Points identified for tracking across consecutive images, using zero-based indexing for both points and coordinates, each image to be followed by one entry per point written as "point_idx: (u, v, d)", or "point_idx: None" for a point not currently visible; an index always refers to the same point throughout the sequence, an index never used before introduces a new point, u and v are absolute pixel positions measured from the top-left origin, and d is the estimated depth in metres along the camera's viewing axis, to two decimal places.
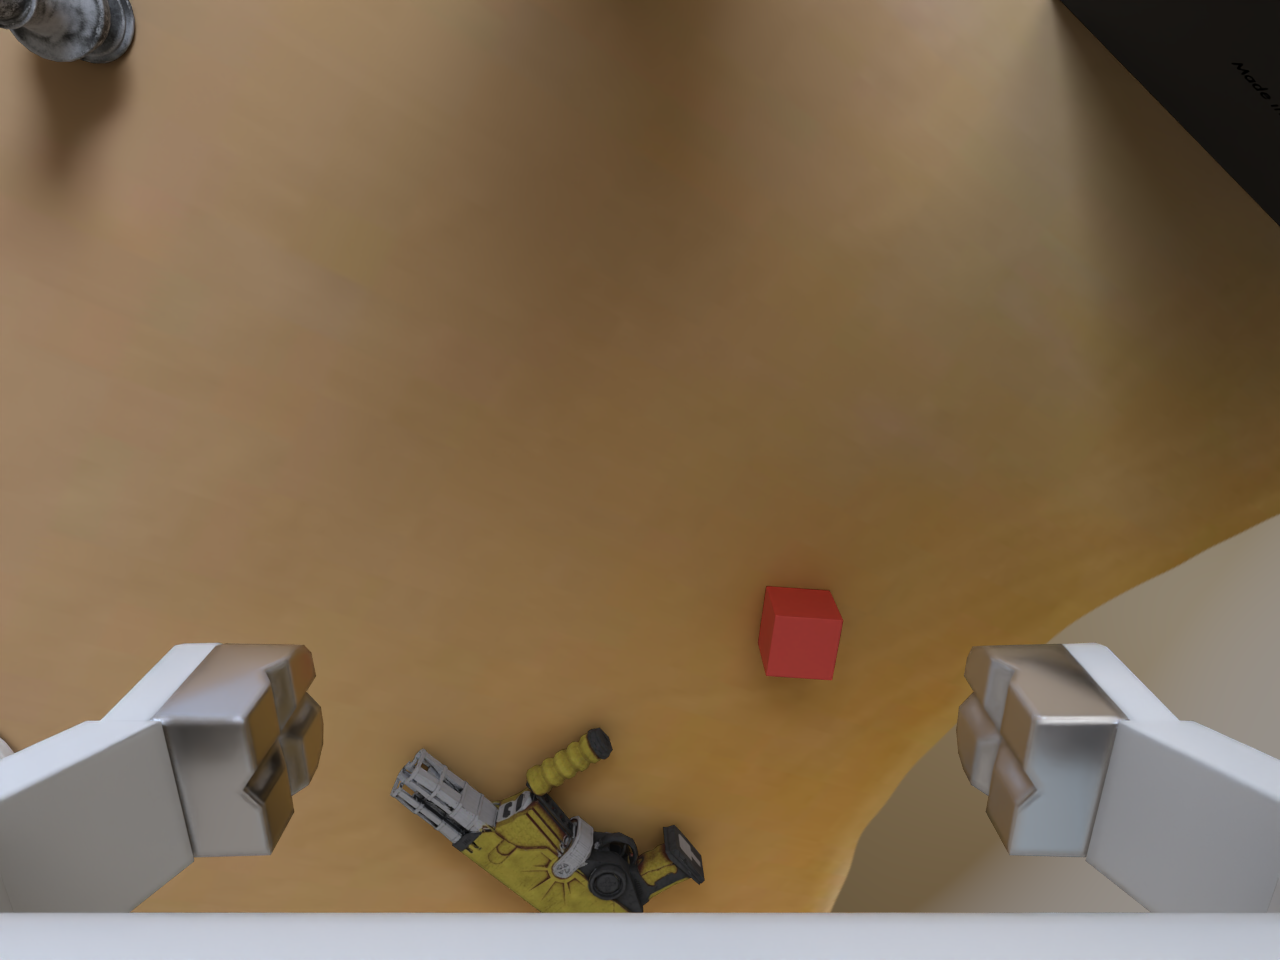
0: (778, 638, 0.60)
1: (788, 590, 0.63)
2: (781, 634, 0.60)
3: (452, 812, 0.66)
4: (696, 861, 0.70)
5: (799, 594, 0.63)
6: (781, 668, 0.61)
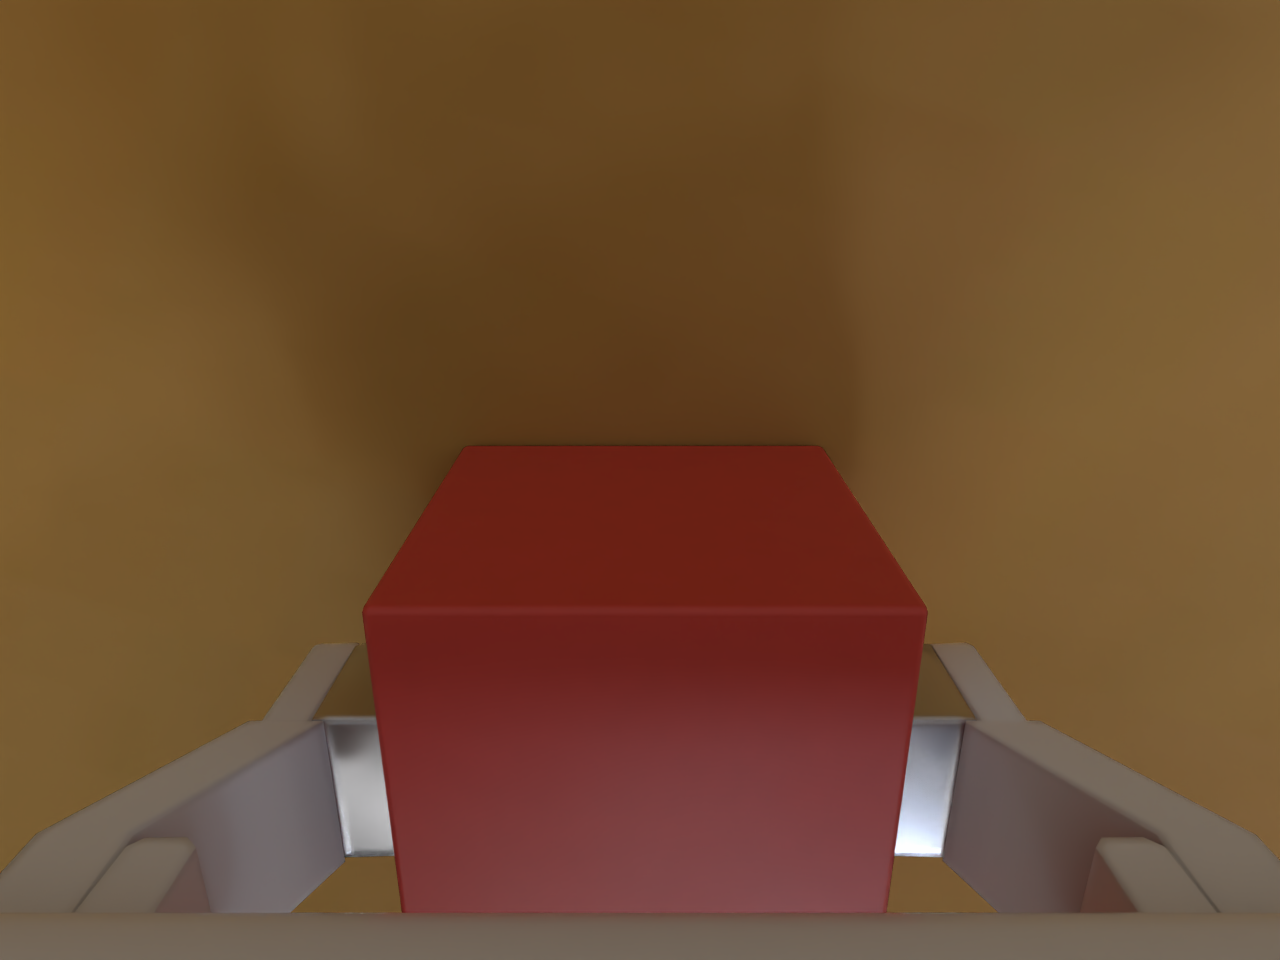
0: (839, 894, 0.08)
1: None
2: None
3: None
4: None
5: None
6: (803, 680, 0.07)
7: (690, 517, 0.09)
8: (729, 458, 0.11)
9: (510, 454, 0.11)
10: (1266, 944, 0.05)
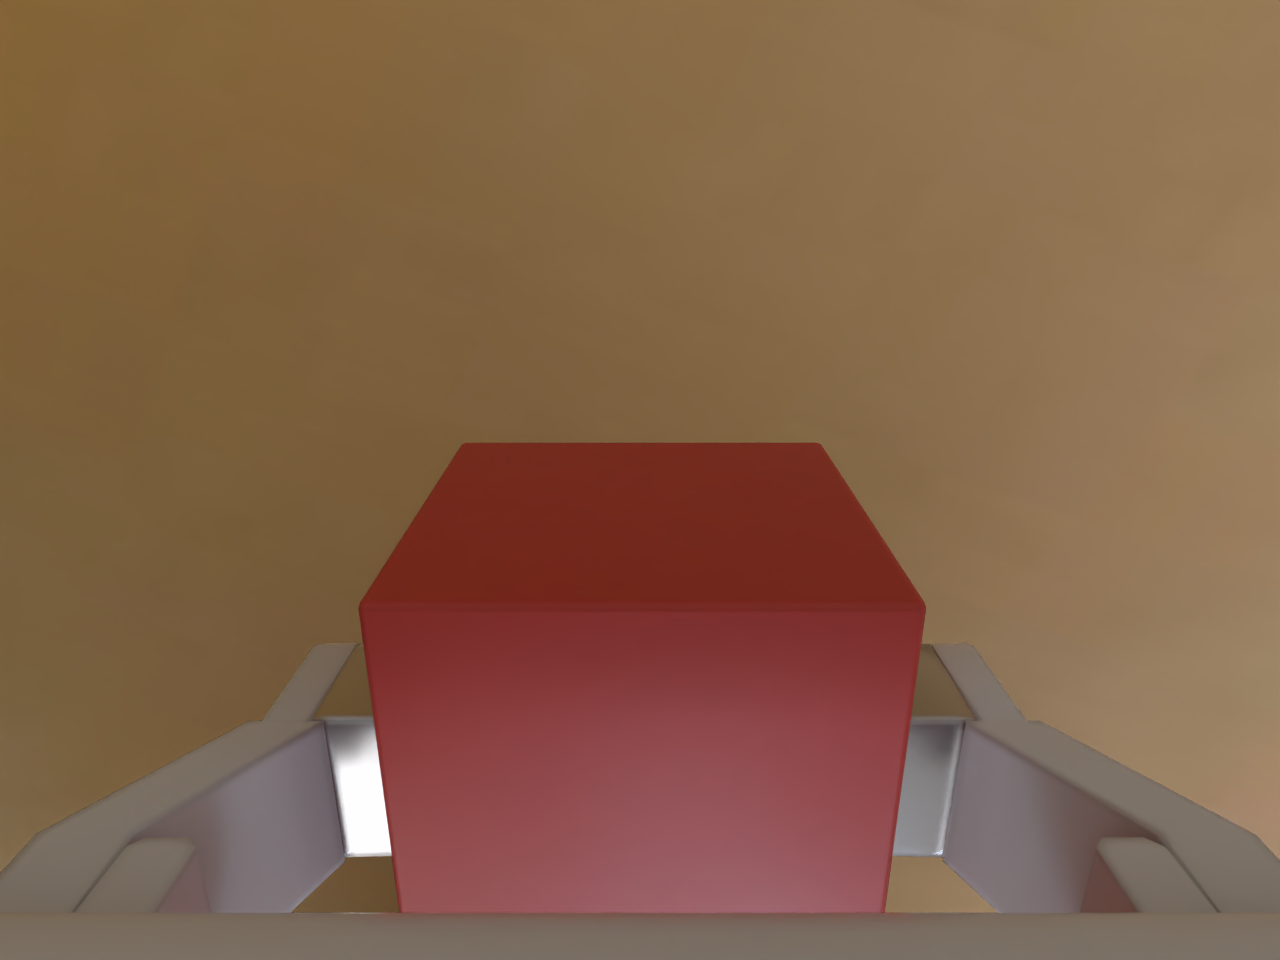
0: (836, 891, 0.08)
1: None
2: None
3: None
4: None
5: None
6: (800, 676, 0.07)
7: (688, 514, 0.09)
8: (728, 455, 0.11)
9: (508, 451, 0.11)
10: (1266, 944, 0.05)
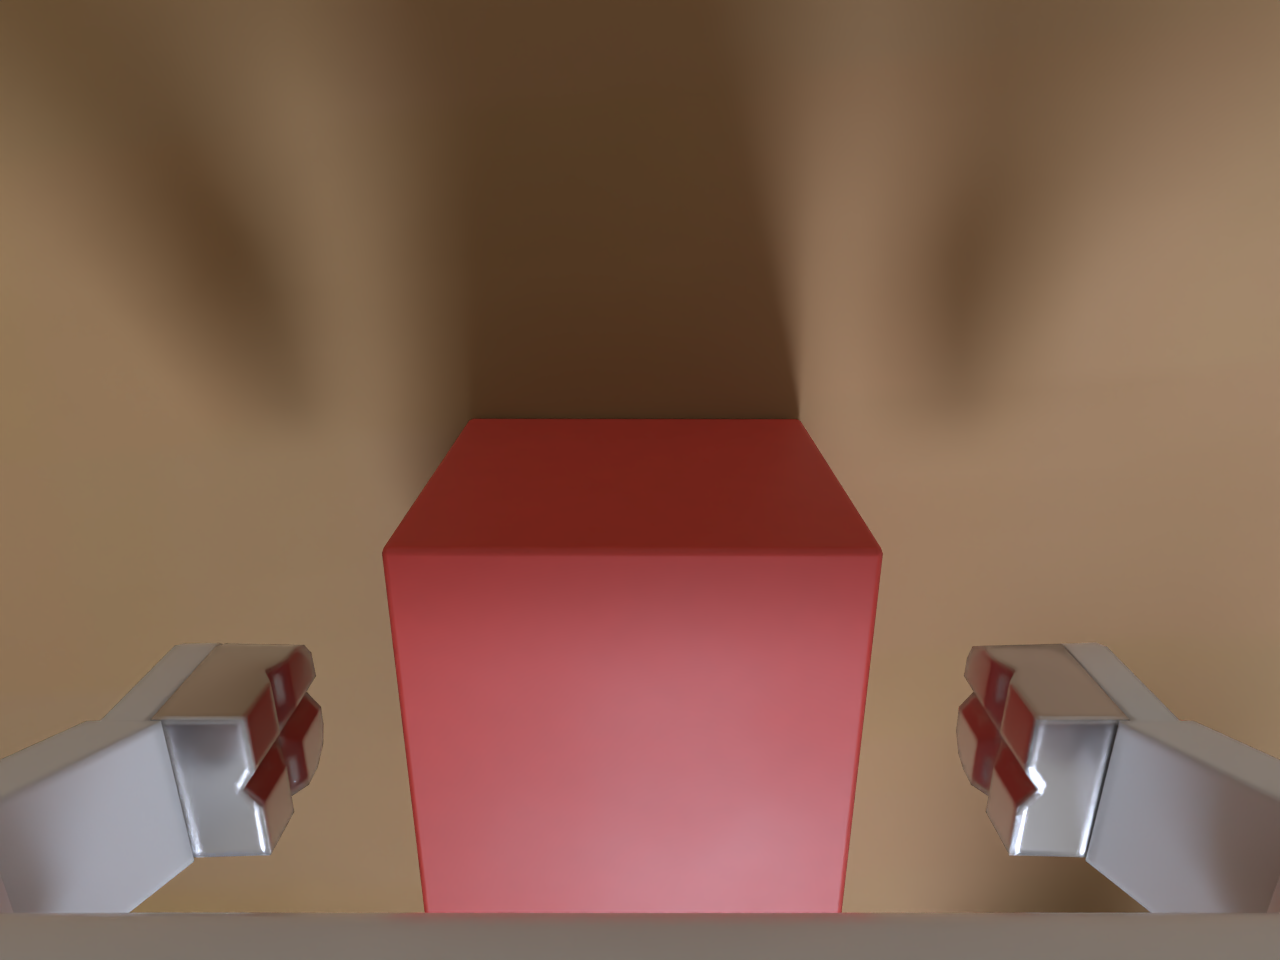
0: (809, 813, 0.09)
1: None
2: (794, 839, 0.09)
3: None
4: None
5: None
6: (773, 613, 0.08)
7: (675, 478, 0.10)
8: (714, 429, 0.12)
9: (512, 426, 0.12)
10: (1266, 944, 0.05)
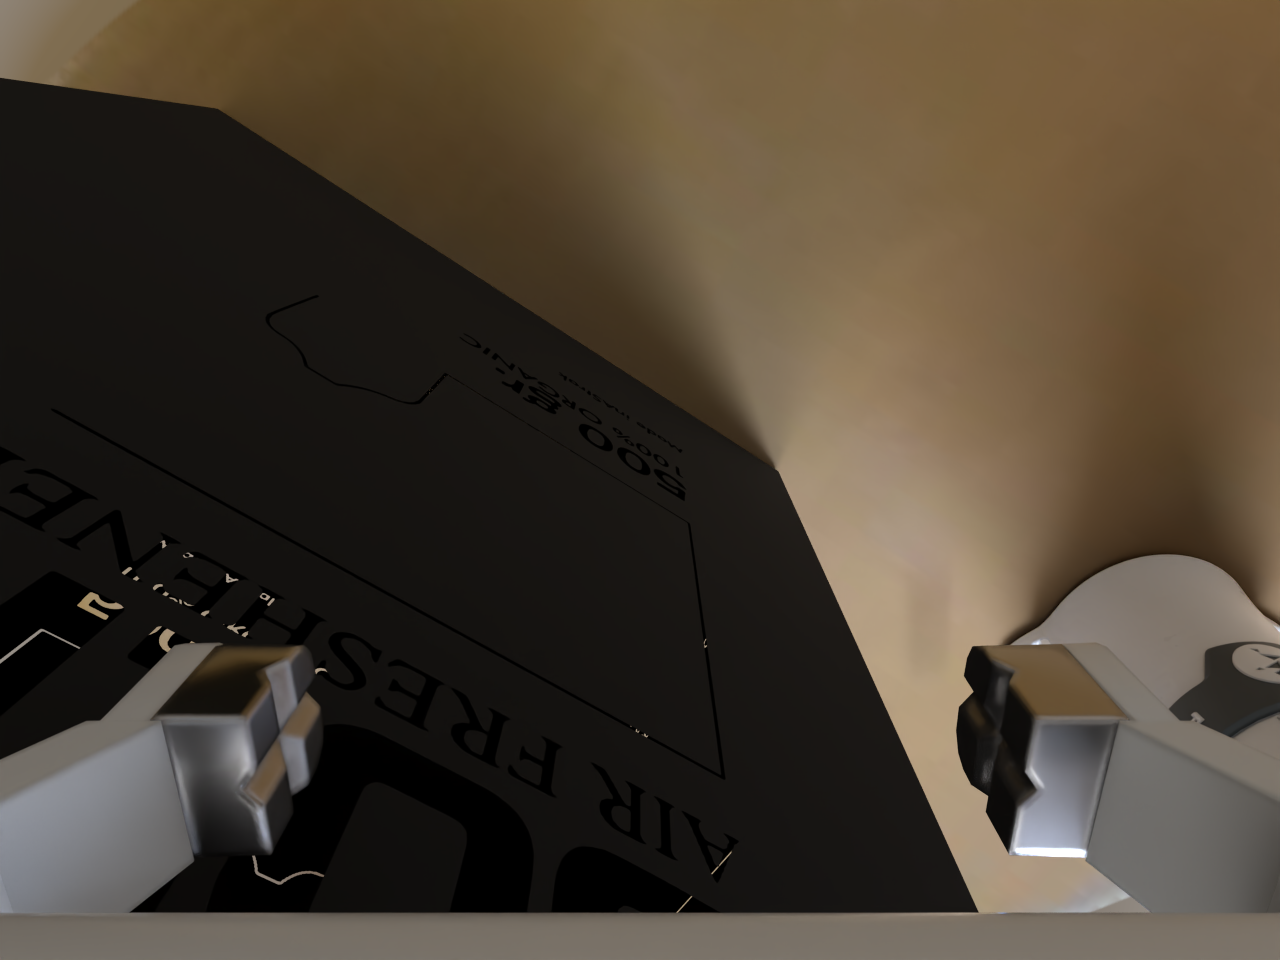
0: None
1: None
2: None
3: None
4: None
5: None
6: None
7: None
8: None
9: None
10: (1266, 944, 0.05)
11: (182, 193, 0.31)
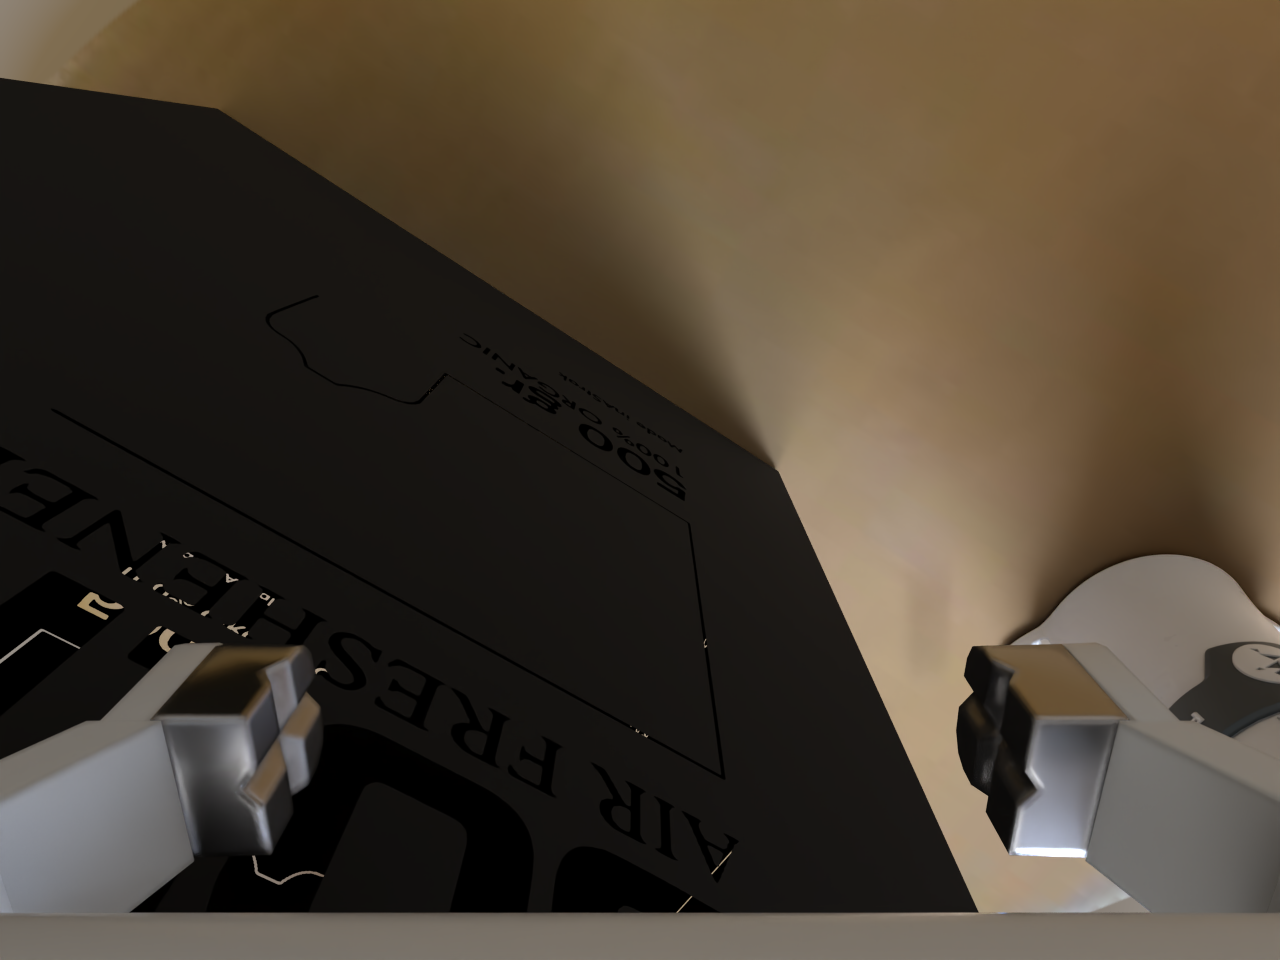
0: None
1: None
2: None
3: None
4: None
5: None
6: None
7: None
8: None
9: None
10: (1266, 944, 0.05)
11: (182, 193, 0.31)
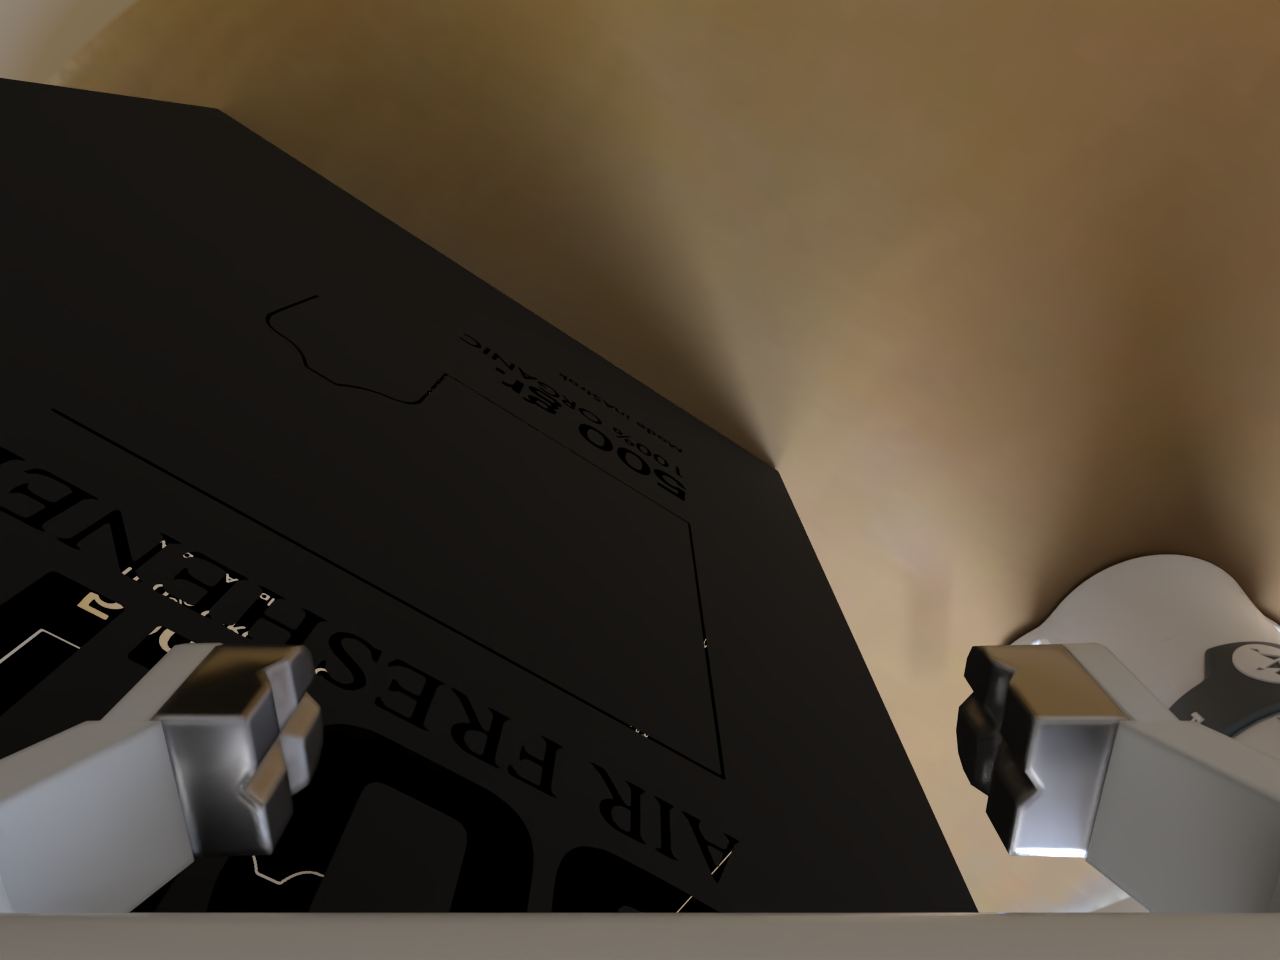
0: None
1: None
2: None
3: None
4: None
5: None
6: None
7: None
8: None
9: None
10: (1266, 944, 0.05)
11: (182, 193, 0.31)
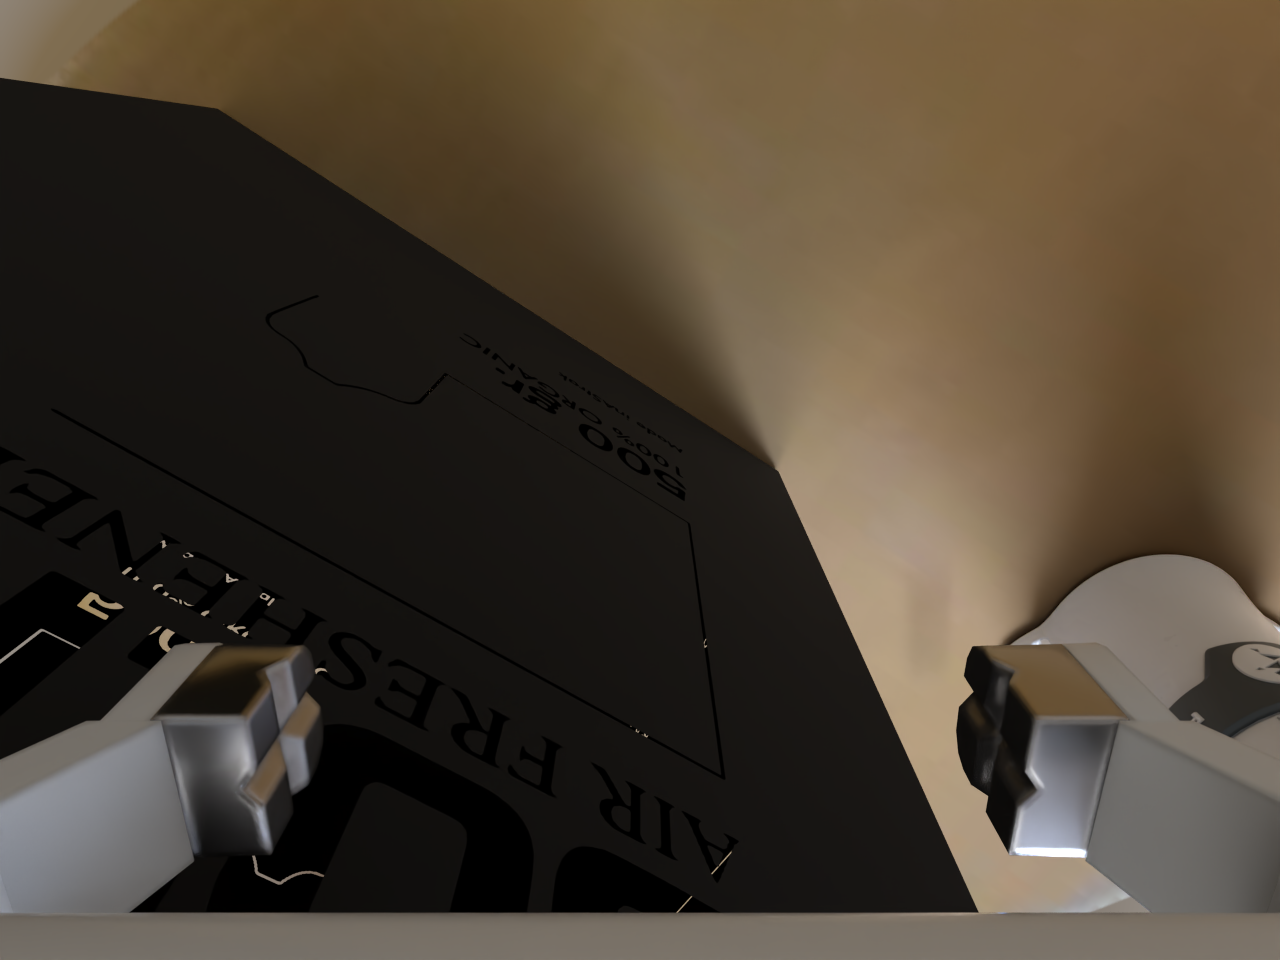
0: None
1: None
2: None
3: None
4: None
5: None
6: None
7: None
8: None
9: None
10: (1266, 944, 0.05)
11: (182, 193, 0.31)
